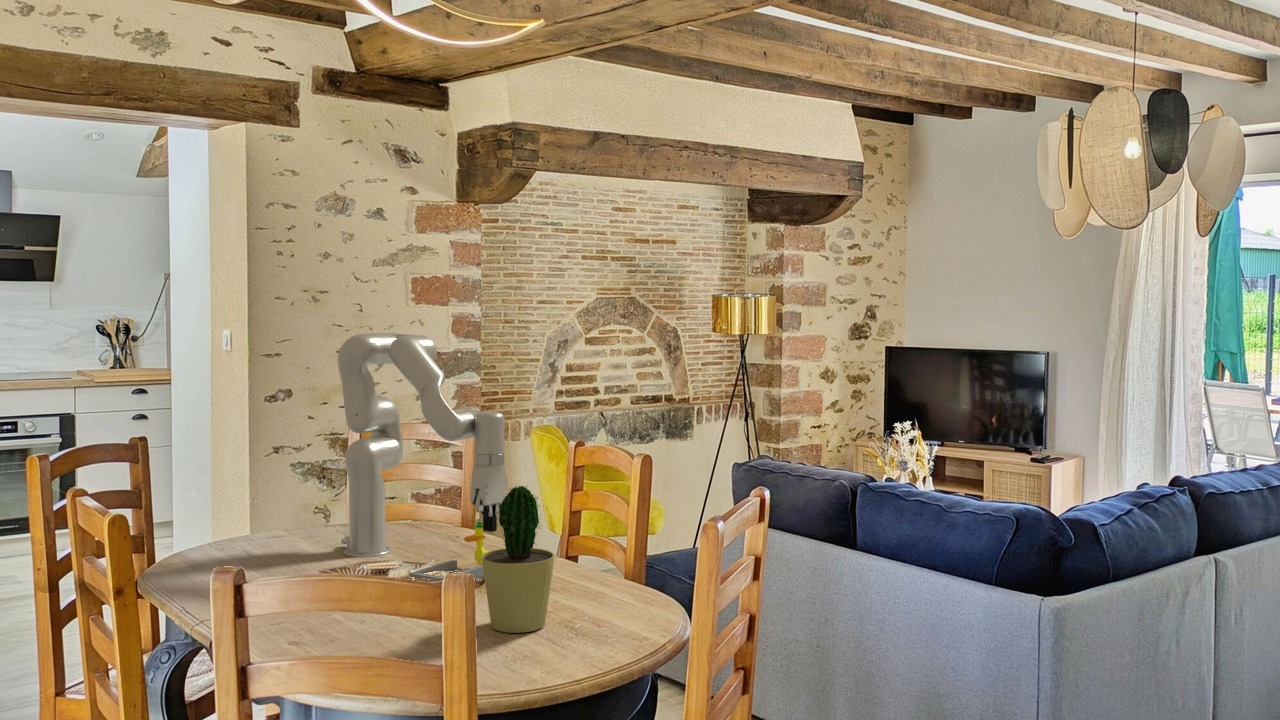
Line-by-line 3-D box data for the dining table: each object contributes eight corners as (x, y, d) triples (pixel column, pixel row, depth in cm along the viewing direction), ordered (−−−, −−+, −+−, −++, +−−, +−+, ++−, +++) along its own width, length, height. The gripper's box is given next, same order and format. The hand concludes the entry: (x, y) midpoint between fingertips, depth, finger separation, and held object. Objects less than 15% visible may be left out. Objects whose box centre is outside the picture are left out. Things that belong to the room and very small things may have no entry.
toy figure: (468, 572, 268) (465, 526, 266) (463, 569, 271) (460, 523, 270) (493, 568, 271) (490, 522, 270) (487, 564, 274) (485, 519, 273)
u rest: (407, 585, 254) (407, 573, 254) (451, 571, 268) (451, 559, 268) (446, 592, 248) (446, 579, 248) (488, 577, 262) (488, 565, 262)
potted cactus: (511, 610, 233) (510, 475, 232) (568, 621, 225) (569, 481, 224) (465, 628, 220) (465, 485, 219) (525, 640, 212) (525, 491, 211)
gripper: (495, 455, 279) (495, 524, 280) (459, 462, 266) (459, 534, 267) (518, 457, 276) (518, 527, 277) (483, 464, 263) (483, 537, 264)
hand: (489, 530), depth 272 cm, fingers closed
